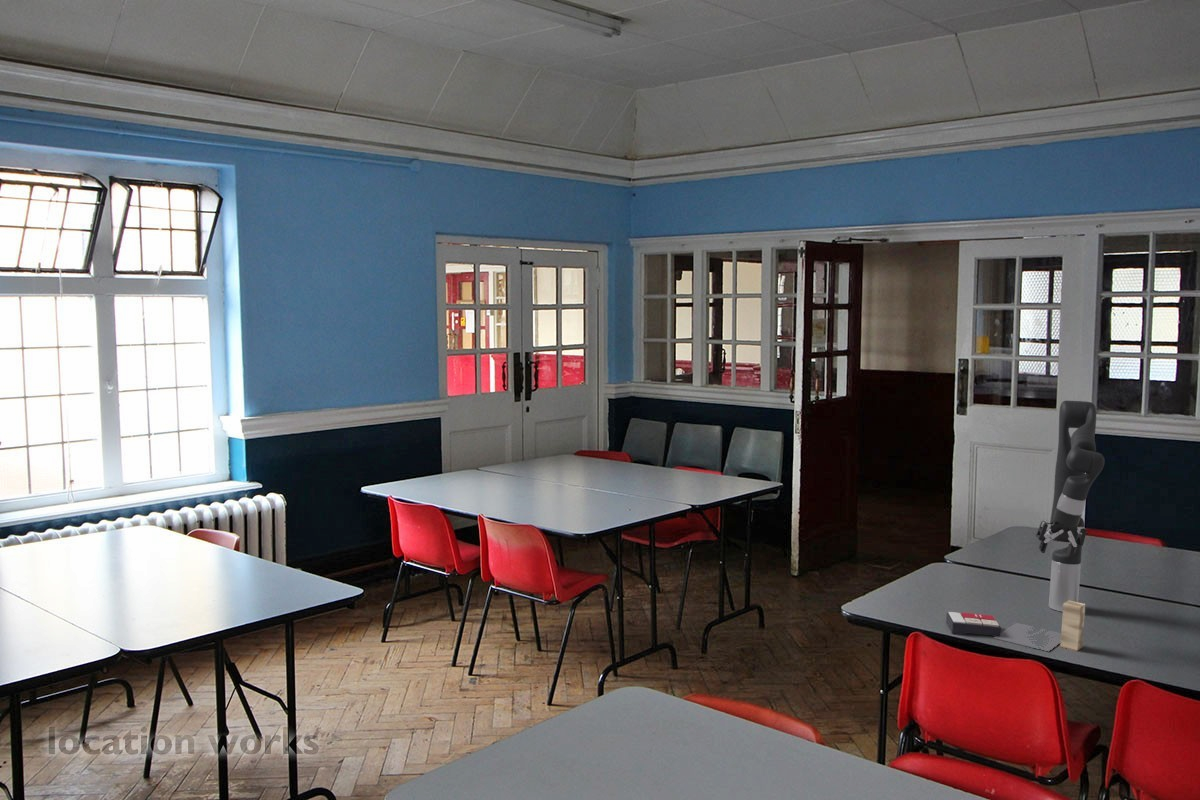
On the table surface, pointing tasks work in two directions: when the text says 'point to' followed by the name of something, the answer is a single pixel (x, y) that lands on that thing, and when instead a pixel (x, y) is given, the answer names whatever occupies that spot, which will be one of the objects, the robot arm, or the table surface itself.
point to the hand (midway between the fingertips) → (1054, 553)
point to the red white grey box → (972, 624)
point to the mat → (1019, 632)
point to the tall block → (1072, 625)
